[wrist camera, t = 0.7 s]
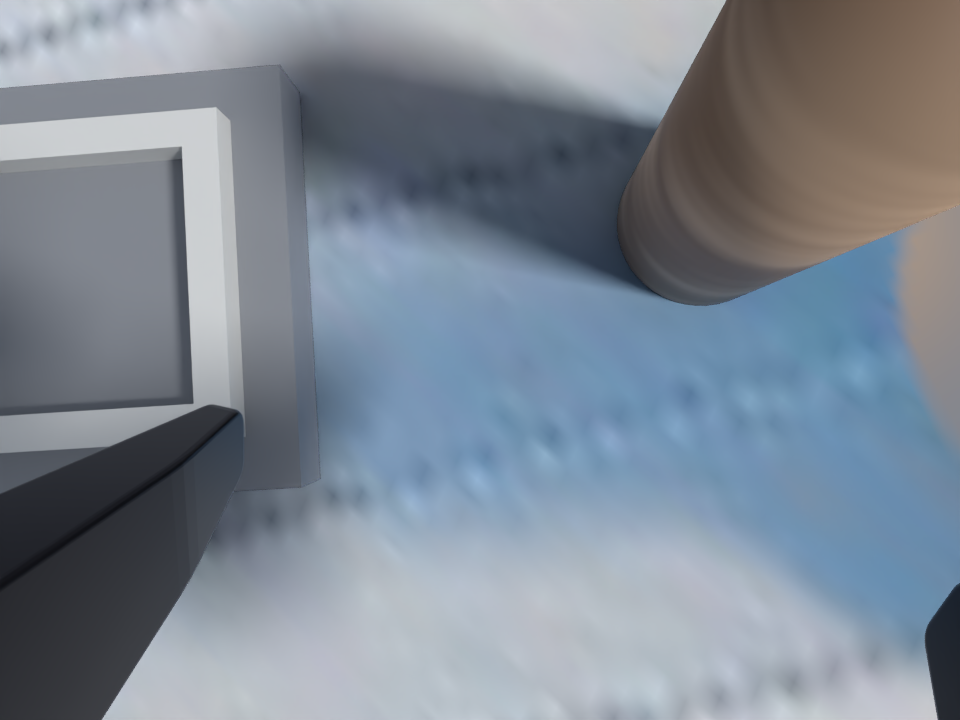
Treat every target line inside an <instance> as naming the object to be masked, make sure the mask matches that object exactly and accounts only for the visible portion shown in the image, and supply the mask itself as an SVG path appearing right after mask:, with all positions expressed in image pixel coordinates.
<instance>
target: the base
mask: <svg viewBox="0 0 960 720" xmlns="http://www.w3.org/2000/svg"><path fill="white" fill-rule="evenodd" d="M209 404H215V405H219V406H224V407H228V408H232V409H236V410H238V411H239V412H241V414H242V416H243V420H244V465H243V470H242V473H241V476H240V479H239V481H238V483H237V485H236V487H235V489H234V491H248V490H266V489H283V488H301V487H304V486H306V485H308V484H310V483H312V482H314V481H317V480H319V479H320V461H319V442H318V423H317V405H316V386H315V367H314V348H313V330H312V311H311V292H310V273H309V254H308V236H307V217H306V198H305V179H304V160H303V142H302V123H301V104H300V92H299V91H298V89H297V88H296V87H295V85H294V84H293V83H292V81H291V80H290V79H289V77H288V76H287V74H286V73H285V72H284V70H283V69H282V68H281V66H280V65H269V66H258V67H246V68H234V69H222V70H210V71H198V72H187V73H175V74H163V75H151V76H139V77H127V78H116V79H104V80H92V81H80V82H68V83H56V84H45V85H33V86H21V87H9V88H0V493H2V492H4V491H6V490H9V489H11V488H13V487H16V486H18V485H20V484H23V483H25V482H27V481H30V480H32V479H34V478H37V477H39V476H41V475H44V474H46V473H49V472H51V471H53V470H56V469H58V468H60V467H63V466H65V465H67V464H70V463H72V462H74V461H77V460H79V459H81V458H84V457H86V456H88V455H91V454H93V453H95V452H98V451H100V450H102V449H105V448H107V447H109V446H112V445H114V444H116V443H119V442H121V441H123V440H126V439H128V438H130V437H133V436H135V435H137V434H140V433H142V432H144V431H147V430H149V429H151V428H154V427H156V426H158V425H161V424H163V423H165V422H168V421H170V420H172V419H175V418H177V417H180V416H182V415H184V414H187V413H189V412H191V411H194V410H196V409H198V408H201V407H203V406H206V405H209Z"/></svg>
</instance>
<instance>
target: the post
mask: <svg viewBox="0 0 960 720" xmlns="http://www.w3.org/2000/svg"><path fill="white" fill-rule="evenodd" d="M958 205H960V0H726V2H725V4H724V6H723V8H722V10H721V12H720V13H719V15H718V17H717V19H716V21H715V23H714V24H713V26H712V28H711V30H710V32H709V34H708V36H707V37H706V39H705V41H704V43H703V45H702V47H701V49H700V50H699V52H698V54H697V56H696V58H695V60H694V62H693V63H692V65H691V67H690V69H689V71H688V73H687V74H686V76H685V78H684V80H683V82H682V84H681V86H680V87H679V89H678V91H677V93H676V95H675V97H674V99H673V100H672V102H671V104H670V106H669V108H668V110H667V112H666V113H665V115H664V117H663V119H662V121H661V123H660V124H659V126H658V128H657V130H656V132H655V134H654V136H653V137H652V139H651V141H650V143H649V145H648V147H647V149H646V150H645V152H644V154H643V156H642V158H641V160H640V162H639V163H638V165H637V167H636V169H635V171H634V173H633V174H632V176H631V178H630V180H629V182H628V184H627V186H626V187H625V190H624V192H623V195H622V197H621V200H620V204H619V208H618V215H617V232H618V239H619V243H620V247H621V250H622V253H623V255H624V257H625V260H626V261H627V263H628V265H629V266H630V268H631V270H632V271H633V272H634V274H635V275H636V276H637V277H638V278H639V279H640V280H641V281H642V282H643V283H644V284H645V285H646V286H647V287H648V288H650V289H651V290H652V291H654V292H655V293H657V294H659V295H661V296H662V297H664V298H667V299H669V300H672V301H674V302H678V303H682V304H687V305H695V306H707V305H714V304H720V303H723V302H727V301H730V300H732V299H735V298H737V297H740V296H742V295H745V294H747V293H749V292H752V291H754V290H757V289H759V288H761V287H764V286H766V285H769V284H771V283H773V282H776V281H778V280H781V279H783V278H785V277H788V276H790V275H793V274H795V273H797V272H800V271H802V270H805V269H807V268H809V267H812V266H814V265H817V264H819V263H821V262H824V261H826V260H829V259H831V258H834V257H836V256H838V255H841V254H843V253H846V252H848V251H850V250H853V249H855V248H858V247H860V246H862V245H865V244H867V243H870V242H872V241H874V240H877V239H879V238H882V237H884V236H886V235H889V234H891V233H894V232H896V231H898V230H901V229H903V228H906V227H908V226H910V225H913V224H915V223H918V222H920V221H922V220H925V219H927V218H930V217H932V216H935V215H937V214H939V213H942V212H944V211H947V210H949V209H951V208H954V207H956V206H958Z"/></svg>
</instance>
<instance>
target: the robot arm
mask: <svg viewBox="0 0 960 720" xmlns="http://www.w3.org/2000/svg"><path fill="white" fill-rule="evenodd" d="M243 465H244V420H243V416H242V414H241V412H239V411H238V410H236V409H232V408H228V407H224V406H219V405H215V404H209V405H206V406H203V407H201V408H198V409H196V410H194V411H191V412H189V413H187V414H184V415H182V416H180V417H177V418H175V419H172V420H170V421H168V422H165V423H163V424H161V425H158V426H156V427H154V428H151V429H149V430H147V431H144V432H142V433H140V434H137V435H135V436H133V437H130V438H128V439H126V440H123V441H121V442H119V443H116V444H114V445H112V446H109V447H107V448H105V449H102V450H100V451H98V452H95V453H93V454H91V455H88V456H86V457H84V458H81V459H79V460H77V461H74V462H72V463H70V464H67V465H65V466H63V467H60V468H58V469H56V470H53V471H51V472H49V473H46V474H44V475H41V476H39V477H37V478H34V479H32V480H30V481H27V482H25V483H23V484H20V485H18V486H16V487H13V488H11V489H9V490H6V491H4V492H2V493H0V720H102V719H103V717H104V715H105V714H106V712H107V711H108V709H109V707H110V706H111V704H112V703H113V701H114V700H115V698H116V696H117V695H118V693H119V692H120V690H121V689H122V687H123V685H124V684H125V682H126V681H127V679H128V678H129V676H130V674H131V673H132V671H133V670H134V668H135V667H136V665H137V663H138V662H139V660H140V659H141V657H142V656H143V654H144V652H145V651H146V649H147V648H148V646H149V645H150V643H151V641H152V640H153V638H154V637H155V635H156V633H157V632H158V630H159V629H160V627H161V626H162V624H163V622H164V621H165V619H166V618H167V616H168V615H169V613H170V611H171V610H172V608H173V607H174V605H175V604H176V602H177V600H178V599H179V597H180V596H181V594H182V592H183V591H184V589H185V587H186V586H187V584H188V582H189V581H190V579H191V577H192V575H193V573H194V571H195V569H196V567H197V565H198V563H199V561H200V559H201V557H202V555H203V553H204V551H205V549H206V547H207V545H208V543H209V541H210V539H211V537H212V535H213V533H214V531H215V528H216V526H217V524H218V522H219V520H220V518H221V516H222V514H223V512H224V510H225V508H226V506H227V504H228V502H229V500H230V498H231V495H232V493H233V491H234V489H235V487H236V485H237V483H238V481H239V479H240V476H241V473H242V470H243ZM925 648H926V654H927V660H928V666H929V671H930V677H931V683H932V689H933V695H934V700H935V706H936V712H937V718H938V720H960V583H959V584H958V585H956V586H955V587H954V588H953V590H952V591H951V593H950V594H949V595H948V597H947V598H946V600H945V601H944V602H943V604H942V605H941V607H940V608H939V609H938V611H937V612H936V614H935V615H934V616H933V618H932V619H931V621H930V622H929V624H928V626H927V629H926V633H925Z"/></svg>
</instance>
